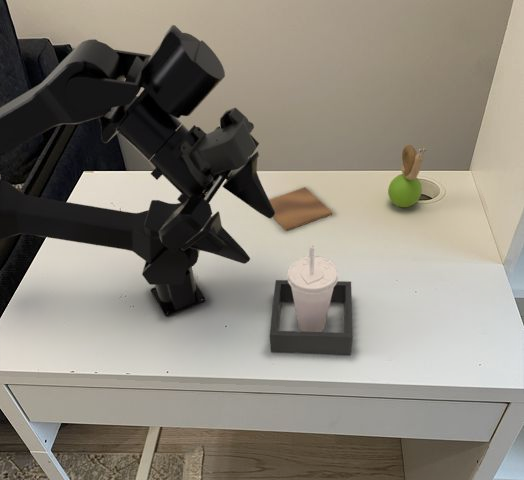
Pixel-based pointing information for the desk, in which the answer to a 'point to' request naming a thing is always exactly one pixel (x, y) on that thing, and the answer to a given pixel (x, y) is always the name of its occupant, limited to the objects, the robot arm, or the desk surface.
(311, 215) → the coaster
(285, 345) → the dark grey square frame
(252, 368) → the desk surface
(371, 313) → the desk surface
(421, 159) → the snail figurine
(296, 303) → the smoothie
